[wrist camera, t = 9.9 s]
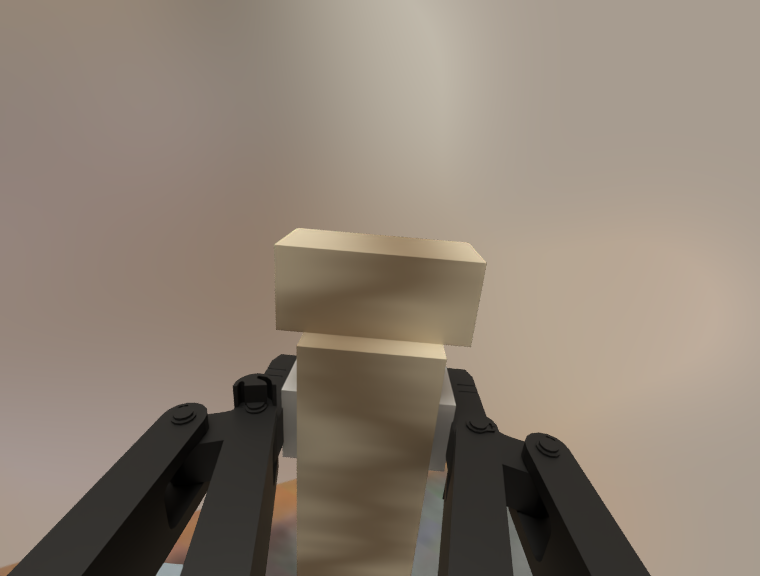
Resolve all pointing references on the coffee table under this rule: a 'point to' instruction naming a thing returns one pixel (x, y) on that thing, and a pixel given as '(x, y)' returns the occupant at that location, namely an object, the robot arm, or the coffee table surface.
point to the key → (369, 386)
